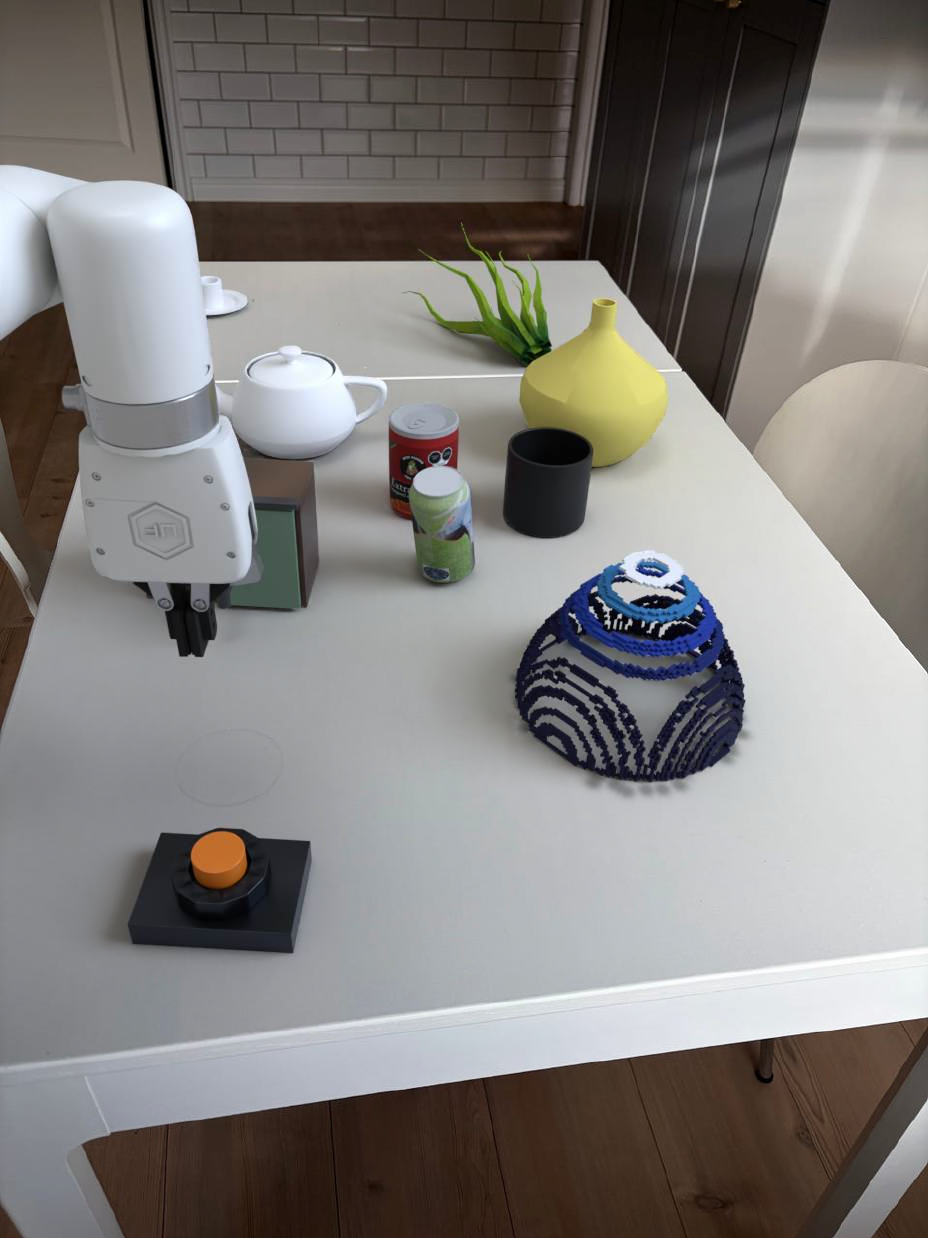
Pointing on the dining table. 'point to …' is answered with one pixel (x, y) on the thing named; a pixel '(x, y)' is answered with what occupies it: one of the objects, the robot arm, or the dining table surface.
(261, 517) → the closet door
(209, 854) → the button
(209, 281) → the candle holder
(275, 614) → the dining table surface
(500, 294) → the decorative plant
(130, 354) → the robot arm
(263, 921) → the switch block
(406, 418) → the canned food
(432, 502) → the beverage can
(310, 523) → the closet
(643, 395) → the vase
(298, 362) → the teapot
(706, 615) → the decorative bowl
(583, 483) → the mug
